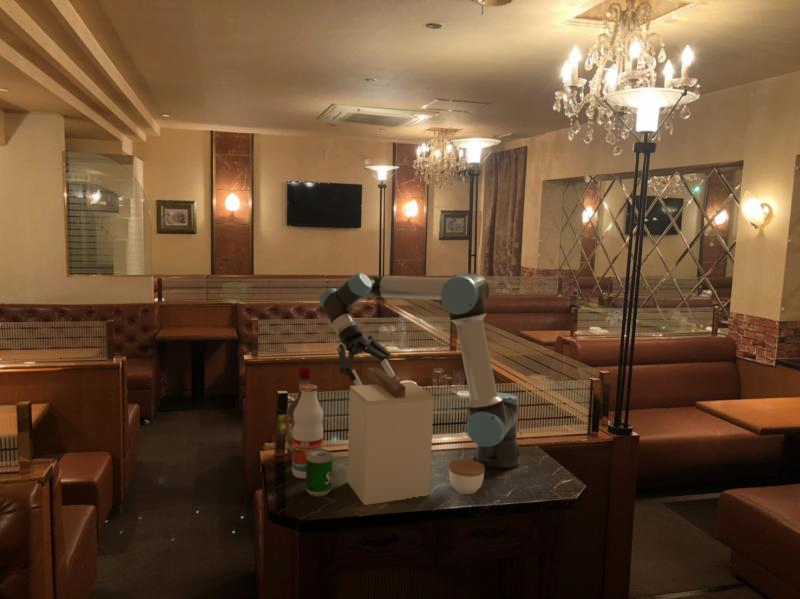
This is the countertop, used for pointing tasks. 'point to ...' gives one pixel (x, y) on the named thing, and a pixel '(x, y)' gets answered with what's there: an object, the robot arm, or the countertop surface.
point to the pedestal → (389, 443)
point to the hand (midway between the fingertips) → (377, 382)
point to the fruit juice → (306, 429)
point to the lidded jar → (466, 475)
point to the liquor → (303, 380)
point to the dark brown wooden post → (386, 382)
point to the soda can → (319, 472)
